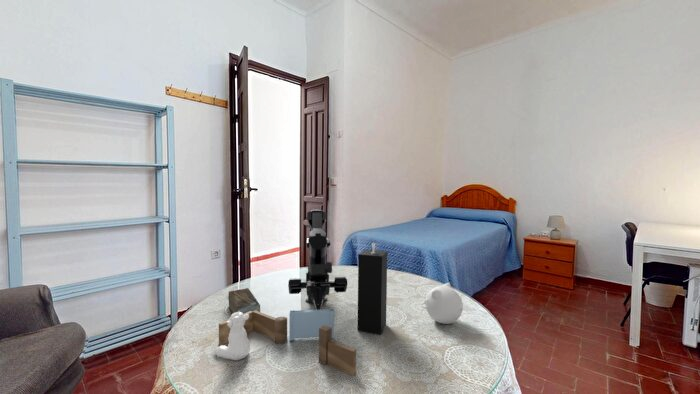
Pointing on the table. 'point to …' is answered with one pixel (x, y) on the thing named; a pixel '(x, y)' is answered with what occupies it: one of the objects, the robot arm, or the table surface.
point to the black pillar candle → (372, 290)
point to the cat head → (443, 304)
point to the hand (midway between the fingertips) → (318, 311)
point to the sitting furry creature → (235, 339)
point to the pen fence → (277, 330)
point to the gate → (309, 323)
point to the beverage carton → (243, 301)
